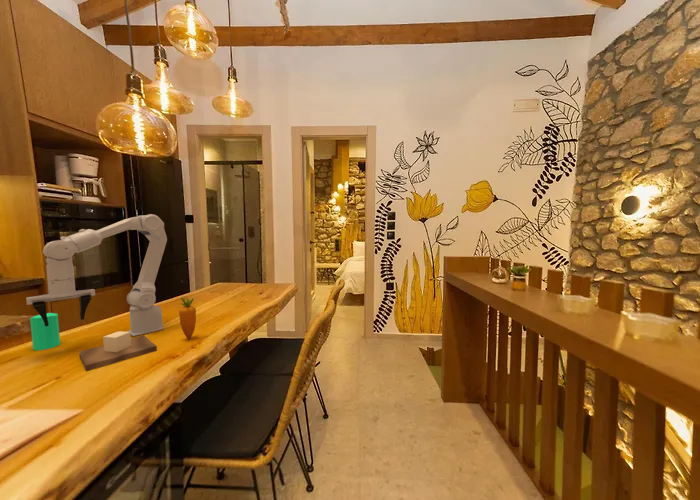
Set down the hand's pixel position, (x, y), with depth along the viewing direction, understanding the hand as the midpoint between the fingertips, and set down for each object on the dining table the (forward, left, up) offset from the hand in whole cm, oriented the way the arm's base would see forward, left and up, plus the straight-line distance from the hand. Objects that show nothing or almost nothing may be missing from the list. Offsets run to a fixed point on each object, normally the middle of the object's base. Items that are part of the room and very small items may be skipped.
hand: (65, 322), depth 85 cm
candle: (+4, -11, -10) cm, 15 cm away
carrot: (-28, +20, -10) cm, 36 cm away
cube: (-10, +15, -8) cm, 19 cm away
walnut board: (-10, +15, -9) cm, 20 cm away
